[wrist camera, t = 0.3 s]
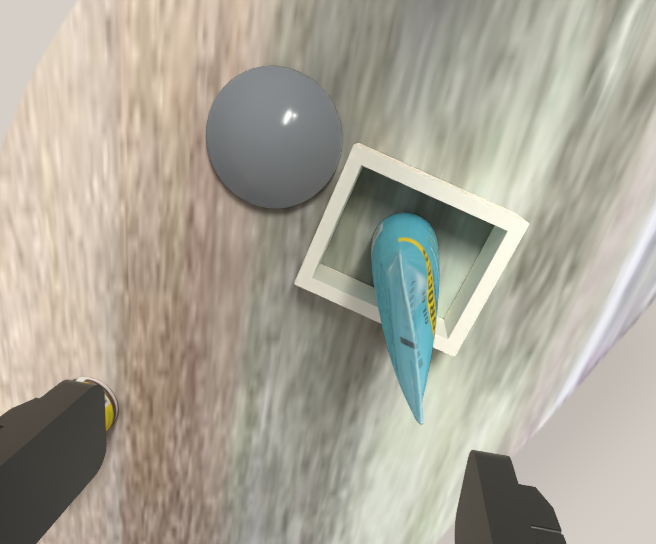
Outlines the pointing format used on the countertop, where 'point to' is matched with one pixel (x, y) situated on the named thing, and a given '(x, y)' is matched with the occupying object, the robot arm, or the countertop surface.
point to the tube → (407, 298)
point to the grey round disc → (274, 137)
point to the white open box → (505, 221)
